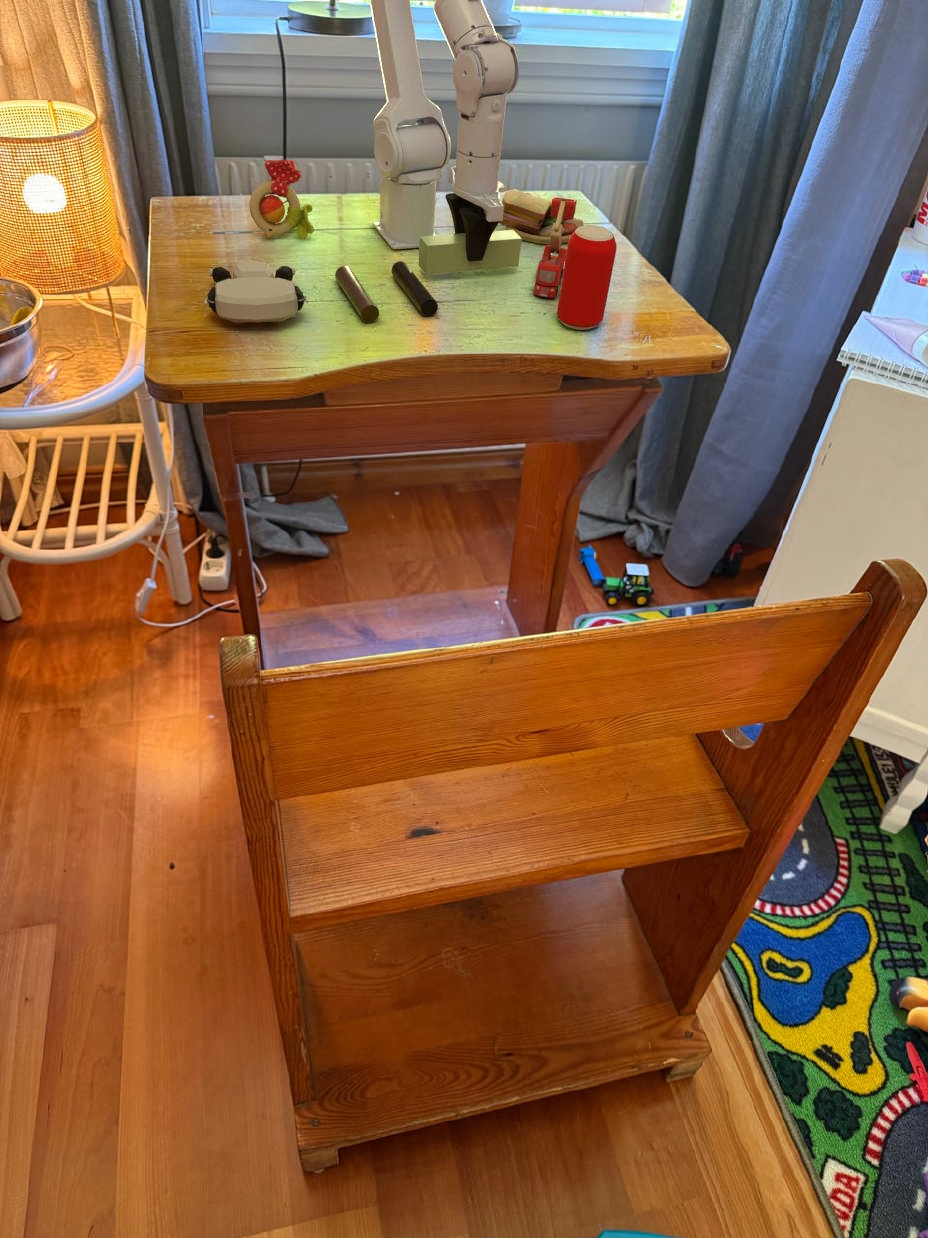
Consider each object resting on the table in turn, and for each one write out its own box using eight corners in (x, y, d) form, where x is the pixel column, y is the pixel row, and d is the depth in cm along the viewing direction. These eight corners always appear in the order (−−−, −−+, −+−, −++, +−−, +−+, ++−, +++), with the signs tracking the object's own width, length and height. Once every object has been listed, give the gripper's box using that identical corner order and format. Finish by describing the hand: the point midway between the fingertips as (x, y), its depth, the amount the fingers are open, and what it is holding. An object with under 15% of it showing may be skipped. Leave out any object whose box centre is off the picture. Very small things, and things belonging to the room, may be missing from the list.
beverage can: (547, 323, 121) (560, 231, 113) (570, 307, 125) (585, 217, 116) (587, 338, 119) (604, 245, 110) (609, 322, 122) (627, 231, 114)
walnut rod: (335, 283, 124) (334, 266, 123) (352, 282, 125) (352, 264, 124) (361, 323, 117) (361, 305, 115) (379, 322, 117) (379, 304, 116)
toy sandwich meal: (568, 253, 138) (573, 221, 135) (485, 234, 141) (487, 202, 138) (590, 226, 147) (595, 195, 144) (511, 208, 150) (514, 178, 146)
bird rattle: (276, 260, 133) (330, 230, 134) (239, 189, 125) (297, 157, 125) (265, 243, 137) (317, 214, 138) (228, 174, 129) (284, 143, 129)
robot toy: (206, 290, 122) (208, 335, 111) (202, 255, 119) (203, 298, 108) (300, 288, 124) (310, 333, 113) (298, 254, 121) (308, 296, 110)
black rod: (391, 278, 127) (391, 261, 125) (407, 277, 128) (408, 260, 126) (420, 317, 119) (421, 299, 117) (437, 315, 120) (438, 298, 118)
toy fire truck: (531, 298, 126) (541, 226, 119) (545, 259, 136) (554, 191, 129) (555, 302, 126) (566, 230, 119) (567, 263, 135) (578, 195, 129)
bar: (426, 274, 126) (427, 245, 123) (418, 264, 128) (419, 236, 125) (518, 266, 130) (521, 238, 127) (509, 257, 132) (512, 229, 130)
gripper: (529, 168, 115) (516, 273, 124) (485, 130, 124) (476, 231, 134) (478, 170, 113) (468, 278, 122) (437, 132, 122) (431, 235, 132)
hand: (469, 254), depth 128 cm, fingers closed on bar, 3 cm apart
